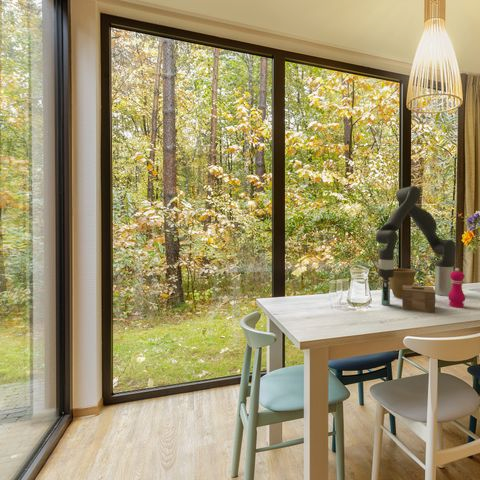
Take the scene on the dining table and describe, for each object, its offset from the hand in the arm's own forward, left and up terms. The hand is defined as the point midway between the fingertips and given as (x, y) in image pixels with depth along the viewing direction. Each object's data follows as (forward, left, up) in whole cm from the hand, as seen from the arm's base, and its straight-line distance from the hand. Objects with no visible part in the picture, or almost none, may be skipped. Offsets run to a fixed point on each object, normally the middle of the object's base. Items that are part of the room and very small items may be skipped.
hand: (385, 299), depth 167 cm
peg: (0, 0, -3) cm, 3 cm away
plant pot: (-23, +7, -3) cm, 24 cm away
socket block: (0, +15, -3) cm, 15 cm away
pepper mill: (-12, +33, -3) cm, 35 cm away
